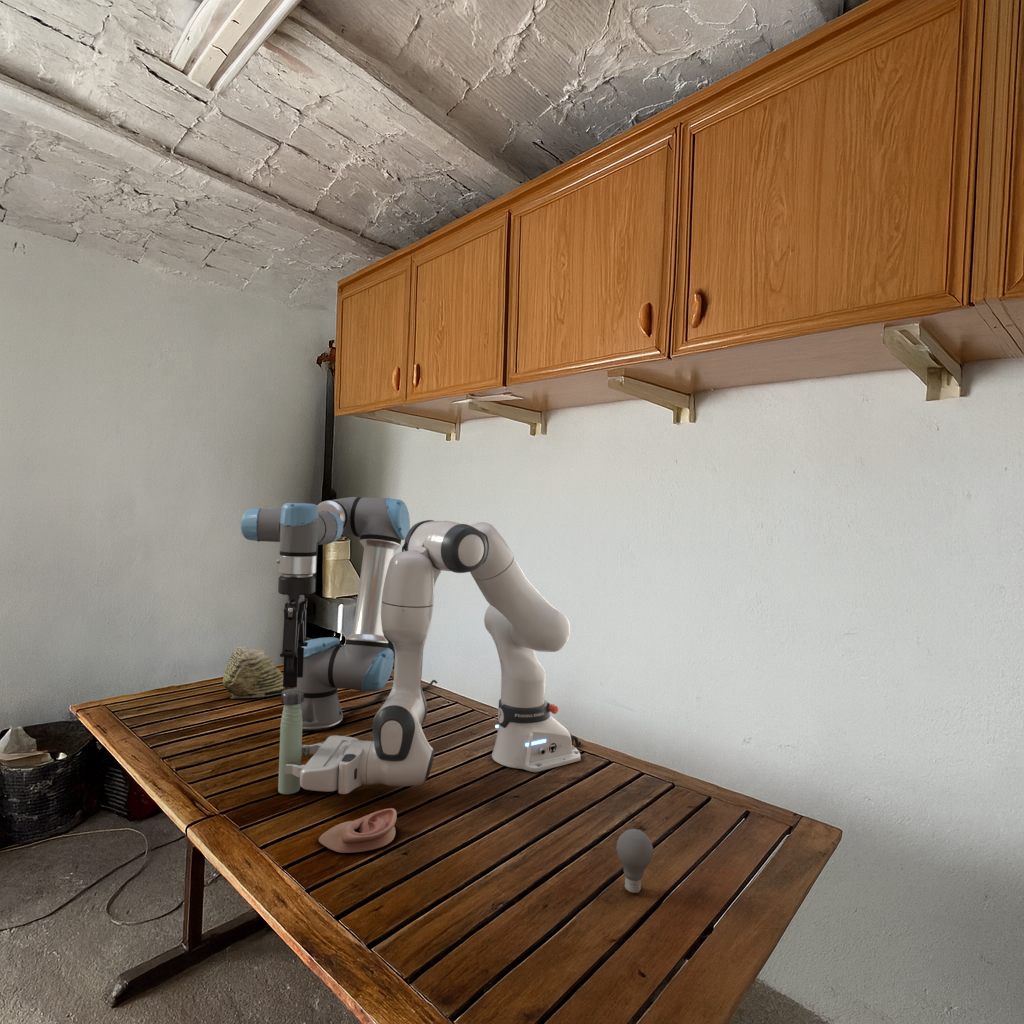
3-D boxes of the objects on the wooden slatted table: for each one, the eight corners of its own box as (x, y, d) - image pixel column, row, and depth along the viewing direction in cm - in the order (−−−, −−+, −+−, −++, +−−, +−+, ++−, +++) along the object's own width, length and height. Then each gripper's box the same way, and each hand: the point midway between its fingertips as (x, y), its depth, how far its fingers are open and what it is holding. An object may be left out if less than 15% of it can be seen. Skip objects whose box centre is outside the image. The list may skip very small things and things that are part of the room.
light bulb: (610, 879, 108) (613, 822, 108) (644, 879, 109) (647, 822, 109) (619, 902, 102) (622, 840, 102) (655, 901, 103) (658, 840, 103)
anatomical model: (310, 826, 114) (340, 797, 125) (309, 848, 114) (339, 817, 125) (379, 837, 111) (403, 806, 122) (378, 859, 111) (403, 827, 123)
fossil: (218, 695, 195) (220, 647, 195) (278, 685, 208) (279, 640, 207) (228, 703, 189) (230, 653, 188) (289, 692, 201) (290, 645, 201)
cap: (307, 702, 136) (308, 691, 136) (288, 706, 133) (288, 696, 133) (296, 697, 139) (296, 687, 139) (277, 701, 136) (277, 691, 136)
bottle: (304, 789, 137) (307, 693, 136) (284, 796, 133) (288, 698, 133) (293, 783, 140) (296, 688, 139) (274, 789, 136) (277, 693, 136)
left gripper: (287, 569, 145) (284, 669, 145) (268, 580, 125) (264, 696, 126) (321, 570, 146) (317, 669, 146) (307, 581, 126) (303, 696, 127)
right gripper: (369, 730, 146) (310, 726, 146) (345, 767, 126) (275, 763, 126) (368, 757, 146) (309, 754, 147) (343, 798, 126) (274, 794, 126)
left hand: (293, 681), depth 136 cm, fingers open, 7 cm apart
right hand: (293, 758), depth 136 cm, fingers open, 8 cm apart
